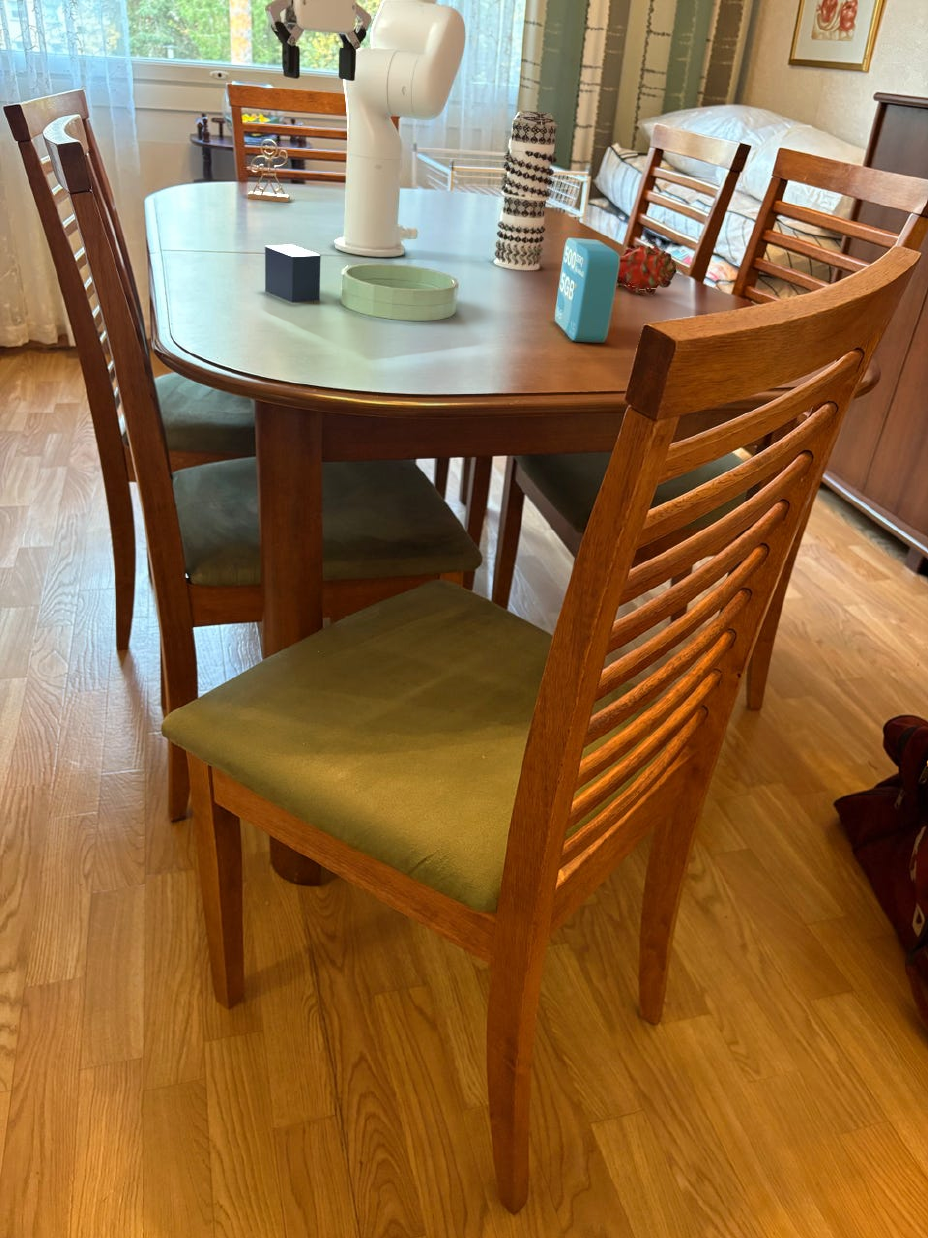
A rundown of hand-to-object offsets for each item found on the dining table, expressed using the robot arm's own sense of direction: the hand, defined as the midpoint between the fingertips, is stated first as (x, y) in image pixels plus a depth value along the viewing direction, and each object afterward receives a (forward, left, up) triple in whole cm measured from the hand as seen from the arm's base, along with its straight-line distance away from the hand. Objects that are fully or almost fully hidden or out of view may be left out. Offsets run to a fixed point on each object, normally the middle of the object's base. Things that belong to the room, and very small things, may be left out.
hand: (319, 78), depth 139 cm
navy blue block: (+13, +13, -27) cm, 33 cm away
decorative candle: (-41, +4, -27) cm, 50 cm away
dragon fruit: (-48, +27, -27) cm, 62 cm away
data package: (-15, +43, -27) cm, 53 cm away
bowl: (+2, +23, -27) cm, 36 cm away
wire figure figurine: (-32, -66, -27) cm, 78 cm away
